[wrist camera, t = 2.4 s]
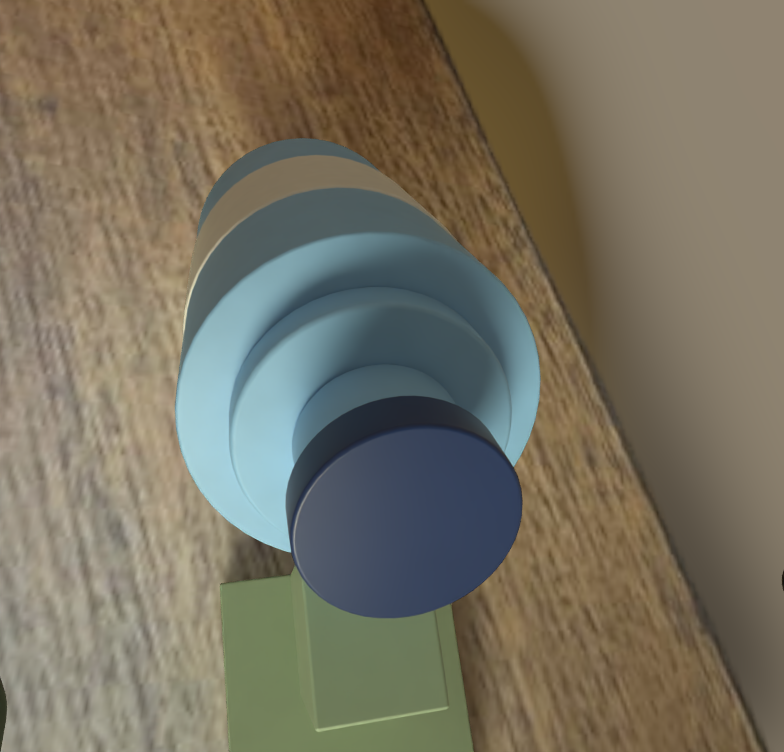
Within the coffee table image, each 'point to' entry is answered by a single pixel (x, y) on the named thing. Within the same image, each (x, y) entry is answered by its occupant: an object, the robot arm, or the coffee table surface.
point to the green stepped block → (337, 675)
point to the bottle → (353, 382)
